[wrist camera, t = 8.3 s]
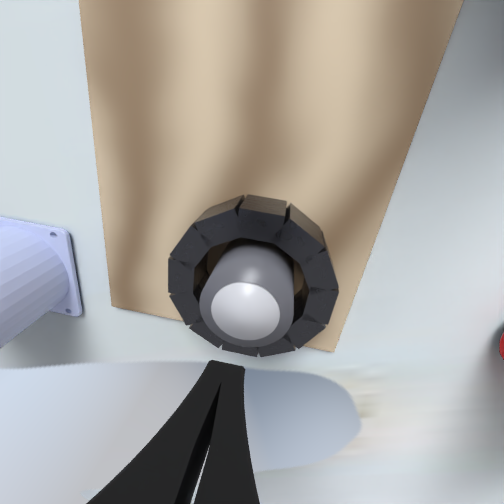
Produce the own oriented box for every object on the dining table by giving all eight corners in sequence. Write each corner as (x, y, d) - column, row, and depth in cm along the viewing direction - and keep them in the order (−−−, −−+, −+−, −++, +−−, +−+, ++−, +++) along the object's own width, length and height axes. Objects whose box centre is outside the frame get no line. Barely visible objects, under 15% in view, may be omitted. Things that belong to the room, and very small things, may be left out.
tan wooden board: (116, 301, 23) (111, 306, 23) (73, -131, 12) (63, -143, 12) (333, 346, 22) (334, 352, 21) (490, -90, 11) (500, -100, 11)
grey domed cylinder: (219, 290, 20) (197, 340, 16) (223, 226, 18) (199, 263, 14) (287, 301, 20) (285, 357, 15) (300, 238, 18) (301, 280, 13)
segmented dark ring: (183, 311, 22) (167, 338, 19) (188, 183, 17) (168, 195, 15) (311, 337, 21) (313, 369, 18) (349, 211, 17) (360, 229, 14)
